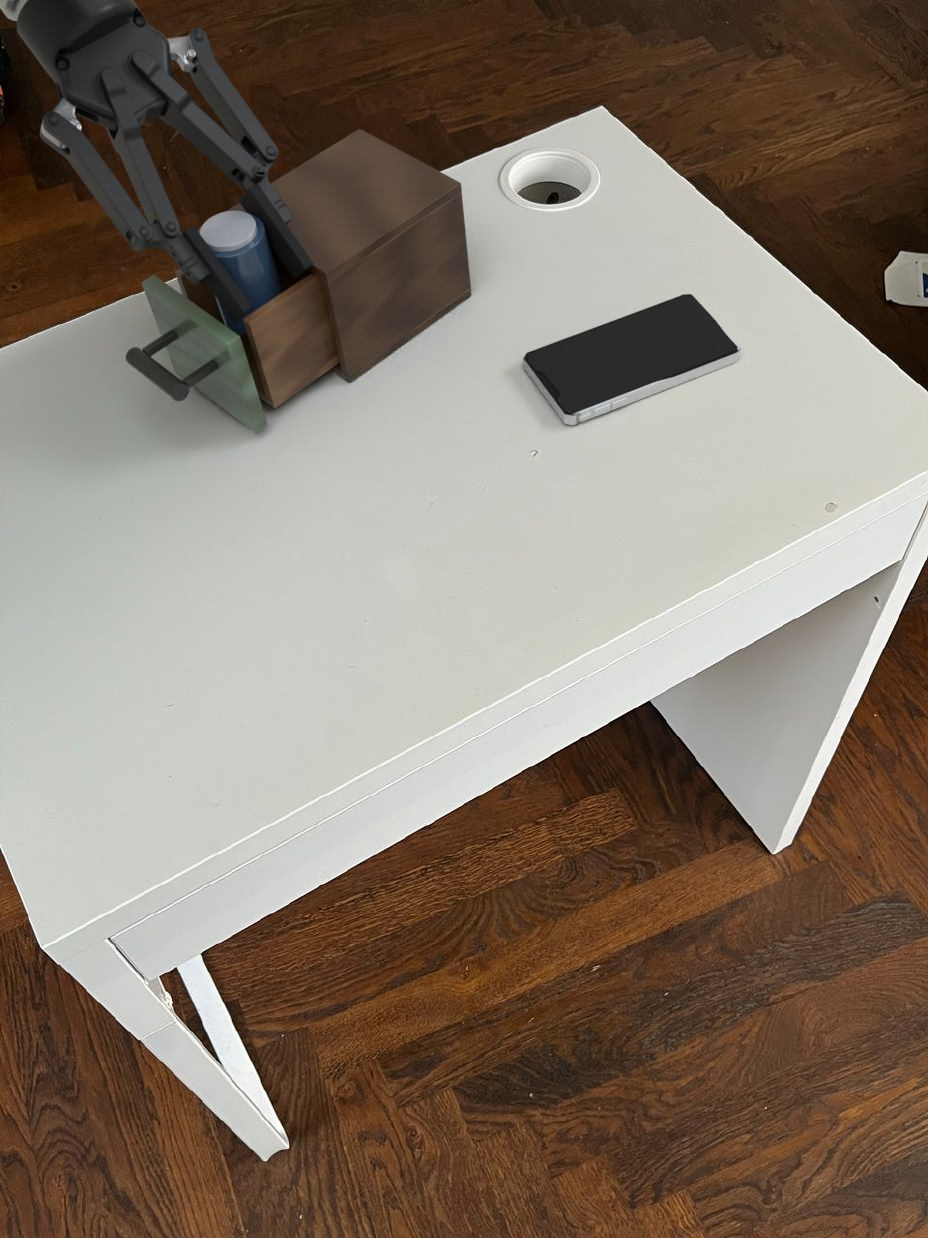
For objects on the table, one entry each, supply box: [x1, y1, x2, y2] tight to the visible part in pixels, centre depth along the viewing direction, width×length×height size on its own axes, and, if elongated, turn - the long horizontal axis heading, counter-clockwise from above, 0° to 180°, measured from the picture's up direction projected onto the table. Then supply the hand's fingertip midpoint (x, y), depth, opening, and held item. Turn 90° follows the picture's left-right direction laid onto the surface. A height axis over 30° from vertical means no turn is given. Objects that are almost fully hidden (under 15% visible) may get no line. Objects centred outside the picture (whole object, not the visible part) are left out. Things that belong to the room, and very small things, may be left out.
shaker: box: [197, 210, 283, 334], centre depth 84 cm, size 5×5×8 cm
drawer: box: [125, 246, 340, 434], centre depth 87 cm, size 17×10×9 cm, turn 135°
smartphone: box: [522, 293, 742, 426], centre depth 88 cm, size 8×1×15 cm
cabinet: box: [226, 128, 472, 384], centre depth 91 cm, size 14×12×11 cm
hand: (273, 292), depth 82 cm, fingers closed on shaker, 5 cm apart
